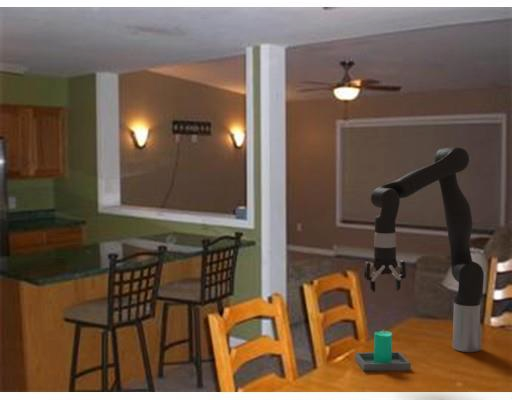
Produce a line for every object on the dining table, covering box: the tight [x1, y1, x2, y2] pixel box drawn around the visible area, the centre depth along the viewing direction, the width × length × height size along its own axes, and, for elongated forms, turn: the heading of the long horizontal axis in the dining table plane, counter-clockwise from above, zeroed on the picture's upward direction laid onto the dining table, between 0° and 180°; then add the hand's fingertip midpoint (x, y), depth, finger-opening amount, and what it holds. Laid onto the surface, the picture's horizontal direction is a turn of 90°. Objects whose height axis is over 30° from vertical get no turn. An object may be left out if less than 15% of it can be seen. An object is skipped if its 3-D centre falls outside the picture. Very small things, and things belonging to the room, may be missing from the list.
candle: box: [373, 328, 393, 363], centre depth 214 cm, size 6×6×12 cm
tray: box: [354, 351, 412, 373], centre depth 215 cm, size 16×12×2 cm
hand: (385, 290), depth 219 cm, fingers open, 8 cm apart
